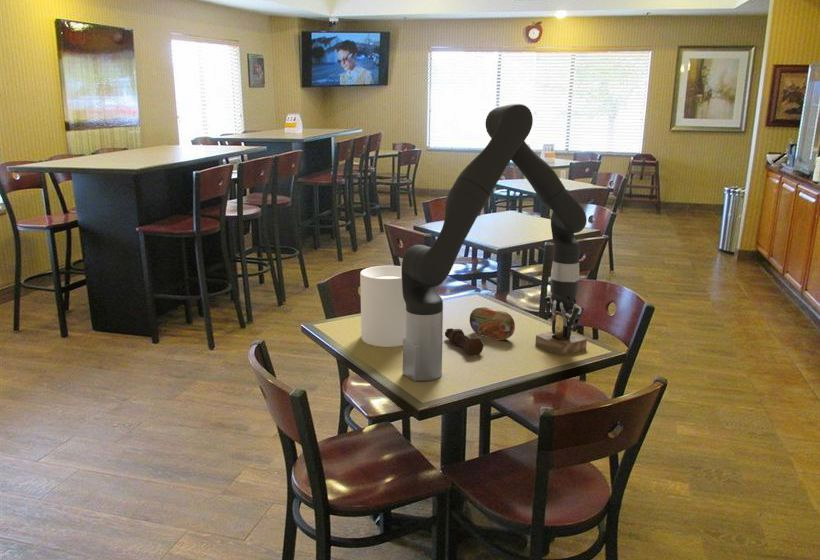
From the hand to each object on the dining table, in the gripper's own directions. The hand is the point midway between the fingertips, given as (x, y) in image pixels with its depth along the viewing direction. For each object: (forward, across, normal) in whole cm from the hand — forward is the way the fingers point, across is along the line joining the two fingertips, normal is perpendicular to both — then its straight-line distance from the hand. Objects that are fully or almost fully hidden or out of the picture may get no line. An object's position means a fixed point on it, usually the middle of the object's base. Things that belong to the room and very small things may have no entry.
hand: (561, 335), depth 187 cm
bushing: (+2, 0, 0) cm, 2 cm away
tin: (+4, -18, -11) cm, 21 cm away
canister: (+4, -32, -38) cm, 50 cm away
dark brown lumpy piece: (+4, -15, -24) cm, 28 cm away
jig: (+3, 0, 0) cm, 3 cm away
